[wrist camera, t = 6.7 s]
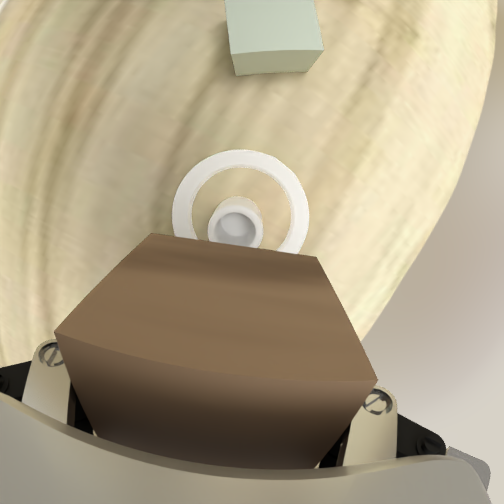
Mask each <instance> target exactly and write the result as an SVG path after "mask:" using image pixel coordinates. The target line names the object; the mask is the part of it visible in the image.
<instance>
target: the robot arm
mask: <svg viewBox="0 0 504 504" xmlns="http://www.w3.org/2000/svg"><path fill="white" fill-rule="evenodd" d="M489 480H490V469H489V466H488V465H487V464H486V463H485V462H484V461H482V460H480V459H477V458H475V457H473V456H470V455H468V454H466V453H463V452H461V451H459V450H457V449H454V448H452V447H450V446H449V447H448V448H447V449H446V445H445V443H444V441H443V440H442V438H441V437H440V436H439V435H437V434H436V433H434V432H432V431H430V430H428V429H426V428H424V427H422V426H420V425H418V424H417V423H415V422H413V421H411V420H409V419H407V418H405V417H403V416H402V415H400V414H398V413H397V402H396V399H395V397H394V396H393V395H392V394H391V393H390V392H389V391H388V390H386V389H385V388H383V387H380V386H377V385H375V386H374V388H373V389H372V391H371V393H370V394H369V396H368V397H367V399H366V400H365V402H364V403H363V405H362V406H361V408H360V409H359V411H358V412H357V414H356V415H355V417H354V418H353V420H352V421H351V422H350V424H349V425H348V427H347V428H346V429H345V431H344V432H343V433H342V435H341V436H340V437H339V439H338V440H337V441H336V443H335V444H334V445H333V446H332V448H331V449H330V450H329V451H328V453H327V454H326V455H325V456H324V458H323V459H322V460H321V461H320V462H319V464H318V465H317V466H316V467H315V468H314V469H297V470H269V469H247V468H234V467H224V466H215V465H208V464H201V463H195V462H189V461H183V460H178V459H173V458H168V457H164V456H159V455H155V454H151V453H147V452H143V451H140V450H136V449H133V448H129V447H126V446H123V445H119V444H116V443H113V442H110V441H107V440H105V439H102V438H99V437H97V435H96V433H95V431H94V430H93V428H92V426H91V424H90V422H89V420H88V418H87V416H86V414H85V412H84V410H83V407H82V405H81V403H80V401H79V399H78V396H77V394H76V392H75V389H74V387H73V385H72V382H71V380H70V377H69V375H68V372H67V369H66V367H65V364H64V361H63V358H62V355H61V352H60V349H59V346H58V343H57V340H56V339H51V340H48V341H45V342H43V343H42V344H40V345H39V346H38V347H37V349H36V351H35V353H34V356H33V359H32V361H28V362H24V363H20V364H15V365H11V366H7V367H2V368H0V504H491V501H490V498H489V496H488V494H487V489H488V485H489Z"/></svg>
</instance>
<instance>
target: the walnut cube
mask: <svg viewBox="0 0 504 504" xmlns="http://www.w3.org/2000/svg"><path fill="white" fill-rule="evenodd" d="M54 333H55V337H56V340H57V343H58V346H59V349H60V352H61V355H62V358H63V361H64V364H65V367H66V369H67V372H68V375H69V377H70V380H71V382H72V385H73V387H74V389H75V392H76V394H77V396H78V399H79V401H80V403H81V405H82V407H83V410H84V412H85V414H86V416H87V418H88V420H89V422H90V424H91V426H92V428H93V430H94V431H95V433H96V435H97V437H99V438H102V439H105V440H107V441H110V442H113V443H116V444H119V445H123V446H126V447H129V448H133V449H136V450H140V451H143V452H147V453H151V454H155V455H159V456H164V457H168V458H173V459H178V460H183V461H189V462H195V463H201V464H208V465H215V466H224V467H234V468H247V469H269V470H297V469H314V468H315V467H316V466H317V465H318V464H319V462H320V461H321V460H322V459H323V458H324V456H325V455H326V454H327V453H328V451H329V450H330V449H331V448H332V446H333V445H334V444H335V443H336V441H337V440H338V439H339V437H340V436H341V435H342V433H343V432H344V431H345V429H346V428H347V427H348V425H349V424H350V422H351V421H352V420H353V418H354V417H355V415H356V414H357V412H358V411H359V409H360V408H361V406H362V405H363V403H364V402H365V400H366V399H367V397H368V396H369V394H370V393H371V391H372V389H373V388H374V386H375V384H376V383H377V381H378V379H377V377H376V374H375V372H374V370H373V368H372V366H371V364H370V361H369V359H368V357H367V355H366V353H365V351H364V349H363V347H362V345H361V343H360V340H359V338H358V336H357V334H356V332H355V330H354V328H353V326H352V324H351V322H350V320H349V318H348V316H347V314H346V312H345V310H344V308H343V306H342V304H341V302H340V301H339V299H338V297H337V295H336V293H335V291H334V289H333V287H332V285H331V283H330V281H329V280H328V278H327V276H326V274H325V272H324V270H323V268H322V267H321V265H320V263H319V261H318V259H317V257H314V256H307V255H300V254H293V253H286V252H280V251H273V250H266V249H259V248H252V247H245V246H238V245H231V244H225V243H218V242H211V241H204V240H197V239H190V238H183V237H176V236H169V235H161V234H154V233H151V234H150V235H149V236H148V237H147V238H146V239H144V240H143V241H142V242H141V243H140V244H139V245H138V246H137V247H136V248H135V249H134V250H133V251H131V252H130V253H129V254H128V255H127V256H126V257H125V258H124V259H123V260H122V261H121V262H120V263H119V264H118V265H117V266H116V267H115V268H114V269H113V270H112V271H111V272H110V273H109V274H108V275H107V276H106V277H105V278H104V279H103V280H102V281H101V282H100V283H99V284H98V285H97V286H96V287H95V288H94V289H93V290H92V291H91V292H90V293H89V294H88V295H87V296H86V297H85V298H84V299H83V300H82V301H81V302H80V303H79V304H78V305H77V307H76V308H75V309H74V310H73V311H72V312H71V313H70V314H69V315H68V316H67V317H66V319H65V320H64V321H63V322H62V323H61V324H60V325H59V326H58V328H57V329H56V330H55V331H54Z"/></svg>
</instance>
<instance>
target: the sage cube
mask: <svg viewBox="0 0 504 504" xmlns="http://www.w3.org/2000/svg"><path fill="white" fill-rule="evenodd" d="M224 1H225V9H226V18H227V26H228V35H229V43H230V52H231V57H232V61H233V65H234V69H235V74H236V76H243V75H253V74H265V73H282V72H308V70H309V69H310V68H311V66H312V65H313V64H314V62H315V61H316V60H317V59H318V57H319V56H320V55H321V53H322V52H323V51H324V48H323V42H322V37H321V32H320V27H319V22H318V18H317V13H316V9H315V5H314V0H224Z"/></svg>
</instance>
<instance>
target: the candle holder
mask: <svg viewBox="0 0 504 504" xmlns="http://www.w3.org/2000/svg"><path fill="white" fill-rule="evenodd" d="M238 167H244V168H252V169H256V170H259V171H261V172H263V173H265V174H267V175H269V176H270V177H272V178H273V179H274V180H275V181H276V182H277V183H278V184H279V185H280V186H281V187H282V189H283V190H284V192H285V194H286V196H287V198H288V200H289V204H290V208H291V224H290V228H289V231H288V234H287V236H286V238H285V240H284V242H283V243H282V244H281V246H280V247H279V248H278V249H277V250H276V251H280V252H286V253H293V254H298V252H299V251H300V249H301V247H302V245H303V243H304V241H305V238H306V235H307V231H308V226H309V207H308V202H307V198H306V195H305V192H304V190H303V188H302V186H301V184H300V182H299V180H298V178H297V177H296V175H295V173H294V172H293V171H291V170H290V169H289V168H288V167H287V166H285V165H284V164H283V163H282V162H280V161H279V160H278V159H277V158H275V157H273V156H270V155H267V154H264V153H261V152H257V151H252V150H228V151H223V152H220V153H217V154H214V155H212V156H209V157H208V158H206V159H204V160H202V161H201V162H199V163H198V164H197V165H196V166H194V167H193V168H192V169H191V170H190V171H189V172H188V173H187V175H186V176H185V177H184V179H183V180H182V182H181V183H180V185H179V187H178V189H177V192H176V194H175V197H174V201H173V207H172V225H173V230H174V234H175V236H176V237H183V238H190V239H197V240H198V238H197V236H196V234H195V232H194V229H193V224H192V206H193V202H194V199H195V197H196V194H197V192H198V191H199V189H200V188H201V186H202V185H203V184H204V183H205V182H206V181H207V180H208V179H209V178H211V177H212V176H213V175H215V174H217V173H219V172H221V171H223V170H226V169H230V168H238ZM208 238H209V241H211V242H218V243H225V244H231V245H238V246H245V247H252V248H258V246H259V245H260V243H261V241H262V238H263V222H262V215H261V212H260V210H259V208H258V206H257V205H256V204H255V203H254V202H253V201H252V200H250V199H248V198H246V197H242V196H233V197H229V198H227V199H225V200H224V201H222V202H221V203H220V204H219V205H218V207H217V208H216V210H215V211H214V213H213V215H212V217H211V219H210V221H209V224H208Z"/></svg>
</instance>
